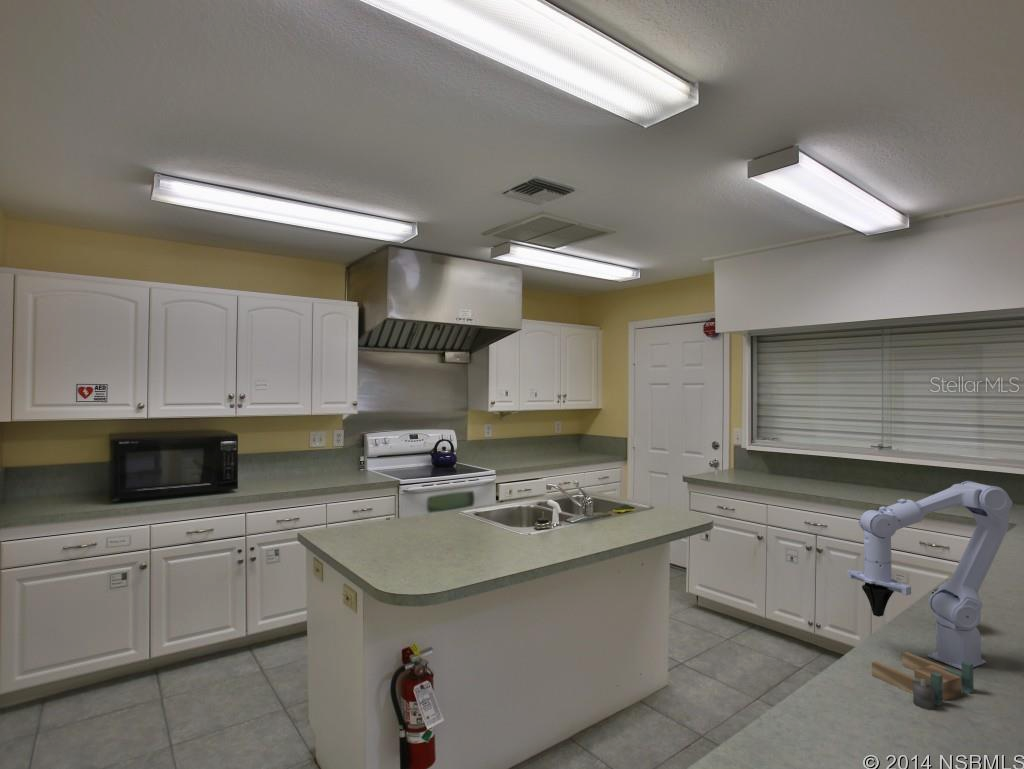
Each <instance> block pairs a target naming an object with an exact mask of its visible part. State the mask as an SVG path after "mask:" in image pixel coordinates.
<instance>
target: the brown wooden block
mask: <svg viewBox="0 0 1024 769" xmlns="http://www.w3.org/2000/svg"><path fill="white" fill-rule="evenodd" d="M913 672H914V676H913V677H915V678H917V679H919V680H921V679H926V681H927V683H929V684H931V673H933V672H936V673H939V674H941V675H943V701H947V700H951V699H953V698H956V697H959V696H962V690H961V677H960V676H957V675H955V674H952V673H950V672H948V671H945V670H943V669H940V668H938V667H936V666H933V665H930V666H926V667H923V668H919V669H916V670H913Z"/></svg>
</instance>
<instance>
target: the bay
mask: <svg viewBox="0 0 1024 769" xmlns="http://www.w3.org/2000/svg"><path fill="white" fill-rule="evenodd" d="M901 654H902V657H901V659H902V666H903V667H905V668H908V669H910V670H913V671H914V670H916V669H919V668H923V667H926V666H930V665H933V666H936V667H938V668H940V669H943V670H945V671H948V672H950V673H952V674H955V675H957V676H960V677H961V691H963V692H965V693H968V694H972V693H974V692H975V691H974V690H975V689H974V687H975V686H974V667H973V664H971V663H969V662H966V661H965V662H962V670H961V672H959V671H956V670H954V669H952V668H950V667H946V666H943V665H941V664H939V663H936V662H933V661H930V660H929V659H925V658H923V657H920V656H918V655H915V654H913V653H911V652H908V651H905V652H902V653H901ZM871 676H873V677H874V678H877V679H879V680H881V681H883V682H886V683H888V684H890V685H893V686H895V687H897V688H899V689H901V690H903V691H906V692H907V693H910V694H912V696H913V701H912V702H913V704H914V705H915V706H917V707H919V708H921V709H924V710H934V709H935V706H936V705H937V706H942V705H943V704H944V700H943V675H941V674H939V673H936V672H933V673H931V684H929V683H927V681H926V679H921V680H919V679H917V678H915V676H912V675H910V674H907V673H905V672H902V671H900V670H898V669H896V668H893V667H891V666H888V665H886V664H885V663H881V662H879V661H872V662H871Z"/></svg>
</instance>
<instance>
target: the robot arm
mask: <svg viewBox="0 0 1024 769" xmlns="http://www.w3.org/2000/svg"><path fill="white" fill-rule="evenodd" d="M955 506H956V507H957V506H961V507H964V508H965V509H966V510H967V511H969V513H971V514H972V517H973V518H974V520H975V522H976V523H977V524H976V527H975V528H974V530H973V532H972V534H971V537H970V539H969V541H968V543H967V545H966V547H965V549H964V552H963V554H962V556H961V558H960V560H959V562H958V563H957V564H958V565H957V566H956V568H955V570H954V573H953V575H952V577H951V579H950V580H949V581H945V582H943V583H941V584H940V586H939V587H938V588H939V589H938V590H937V591H936V592H935V593H933V594H932V593H931V595H930V597H929V600H928V605H929V608H930V609H931V612H933V613H934V618H935V632H936V633H935V640H936V641H935V643H936V644H935V648H936V651H935V652H932V653H930V654H928V655H927V656H928V658H929V659H930V658H931V659H933V660H935V661H937V662H940V663H944V664H946V665H949V666H951V667H954V668H957V669H959V670H961V671H962V662H965V661H966V662H969V663H971V664H973V668H976V667H978V666H981V665H984V664H986V663H987V662H986V660H984V659H982V637H981V636H982V635H981V633H980V630H979V629H978V628H977V626H978V625H979V624H980V622H981V610H982V607H983V602H982V599H981V597H980V596H979V591H980V588H981V587H982V585H983V583H984V581H985V578H986V576H987V574H988V572H989V570H990V568H991V565H992V563H993V562H994V560H995V557H996V555H997V553H998V551H999V548H1000V547H1001V544H1002V542H1003V540H1004V539H1005V536H1006V534H1007V532H1008V530H1009V527H1010V514H1009V512H1010V510H1011V507H1012V506H1013V501H1012V499H1011V498H1010V496H1009V493H1007V492H1006V490H1005V489H1004V488H1002V487H1000V486H996V485H988V484H983V483H978V482H976V481H972V480H965V481H963V482H960V483H955V484H952V485H951V486H950V487H948V488H946V489H944V490H943V489H942V491H939V492H936V493H934V494H932V495H930V496H927V497H925V498H922V499H920V500H917V501H914V500H912V499H904V498H900V499H897V503H893V504H891V505H887V506H883V505H882V506H879V509H878V510H873V509H870V510H867V511H865V512H863V514H861V516H860V519H858V525H859V527H860V528H861V529H862V531H863V562H864V563H863V566H864V567H863V571H861V570H856V569H848V570H846V571H847V574H846V575H847V576H846V577H847V579H851V580H857V581H860V582H863V583H864V584H862V585H861V588H862V591H863V592H864V594H865V595H866V598H867V599H868V602H869V605H870V607H871V612H872V615H873V616H874V617H878V618H879V617H883V616H885V615H884V614H885V611H886V607H887V604H888V602H889V600H890V598H891V597H892V595H893V594H894V592H897V593H900V594H902V595H903V596H910V595H912V586H911V585H908V584H905V583H902V582H900V581H899V580H895V579H894V578H892V576H893V575H892V574H893V573H892V571H893V570H892V537H893V536H894V535H895V534H896V531H897V530H901V529H903V528H906V527H909V526H913V525H915V524H917V523H921V522H923V520H924V516H925V515H928V514H932V513H935V512H938V511H941V510H946V509H949V508H952V507H955ZM959 598H960V599H959Z"/></svg>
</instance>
